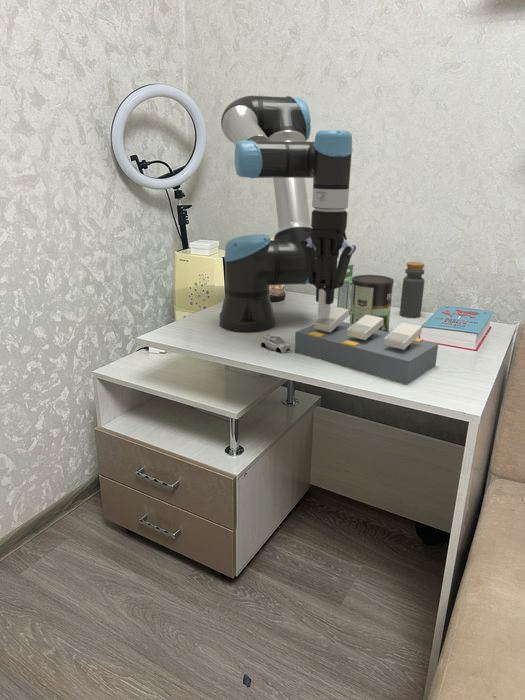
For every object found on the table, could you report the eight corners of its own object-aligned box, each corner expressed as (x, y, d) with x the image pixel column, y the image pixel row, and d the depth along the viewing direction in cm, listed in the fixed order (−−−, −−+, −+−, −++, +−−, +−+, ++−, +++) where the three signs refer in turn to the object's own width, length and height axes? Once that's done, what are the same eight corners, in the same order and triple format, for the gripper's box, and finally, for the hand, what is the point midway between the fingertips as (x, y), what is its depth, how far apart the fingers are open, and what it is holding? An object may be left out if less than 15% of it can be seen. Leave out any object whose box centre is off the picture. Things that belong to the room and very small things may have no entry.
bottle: (395, 314, 152) (400, 263, 147) (407, 311, 156) (412, 260, 151) (412, 319, 148) (418, 266, 143) (424, 315, 152) (430, 263, 147)
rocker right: (384, 344, 110) (384, 337, 109) (402, 328, 115) (402, 321, 114) (403, 349, 107) (404, 342, 106) (421, 333, 112) (421, 325, 111)
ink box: (347, 315, 151) (350, 269, 147) (336, 312, 154) (338, 267, 149) (361, 310, 156) (364, 265, 151) (350, 308, 158) (353, 264, 154)
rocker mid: (347, 335, 115) (347, 328, 114) (366, 320, 120) (366, 313, 119) (365, 340, 113) (364, 332, 112) (383, 324, 118) (383, 317, 117)
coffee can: (388, 327, 141) (393, 275, 136) (389, 339, 131) (394, 284, 126) (349, 324, 143) (352, 273, 138) (347, 336, 133) (351, 282, 128)
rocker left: (314, 328, 121) (313, 321, 120) (333, 311, 126) (332, 305, 125) (330, 332, 118) (329, 325, 117) (349, 315, 123) (348, 309, 122)
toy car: (283, 355, 121) (284, 343, 120) (258, 347, 126) (258, 335, 125) (294, 351, 123) (294, 339, 122) (269, 343, 129) (269, 331, 127)
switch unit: (294, 352, 122) (295, 325, 120) (328, 337, 132) (330, 312, 130) (406, 384, 105) (409, 354, 103) (435, 365, 115) (439, 337, 113)
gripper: (294, 208, 112) (290, 314, 120) (346, 213, 104) (339, 326, 113) (314, 206, 118) (310, 308, 126) (365, 210, 110) (357, 319, 118)
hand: (323, 316), depth 119 cm, fingers closed
